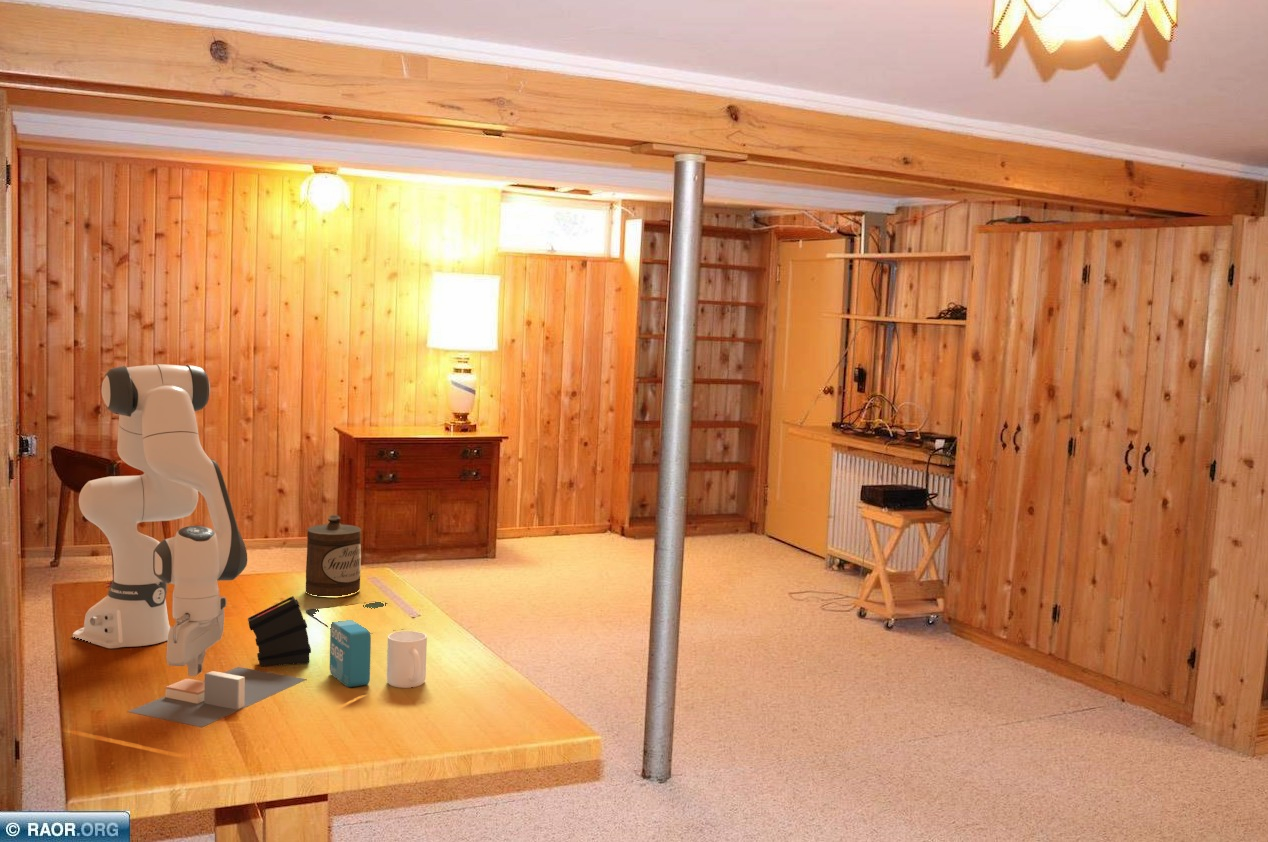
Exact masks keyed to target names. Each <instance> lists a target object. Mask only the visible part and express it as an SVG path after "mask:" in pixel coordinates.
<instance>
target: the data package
mask: <svg viewBox="0 0 1268 842" xmlns="http://www.w3.org/2000/svg"><path fill="white" fill-rule="evenodd" d="M329 630H330V633H329V634H330V637H329V638H330V639H329V673H330V674H332V675H333V678H335V679H336V678H337V679H336V680H338V681H339V682H340V683H341V684H343V685H344V686H346V688H355V687H360V686H366V685H367V686H368V685H369V684H370V680H371V654H372V653H371V652H372V651H371V650H372V649H371V648H372V646H371V645H372V636H371V633H370V632H369V631H368V630H367V629H366V628H364V627H362V626H361V625H359V624H358V623H356V622H354V621H353V620H346V621H338V622H332V624H331V628H330V629H329ZM332 675H331V676H332Z"/></svg>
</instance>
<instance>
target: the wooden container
mask: <svg viewBox="0 0 1268 842" xmlns="http://www.w3.org/2000/svg"><path fill="white" fill-rule="evenodd" d="M327 520H328V523H327V524H326V523H325V524H317V525H314V526H313V525H311V526H309V527H308V528H307V535H306V536H307V537H306V538H307V540H306V541H307V543H306V544H307V545H306V547H307V548H306V562H305V563H306V564H305V565H306V566H305V593H306V592H307V593H309V594H312V595H317V596H342V595H348V594H351V593H355V592H357V591H358V590H359V589H360V590H361V566H362V565H361V563H362V562H361V560H362V559H361V555H362V554H361V549H362V548H361V547H362V545H361V541H362V540H361V539H362V536H361V535H362V529H361V528H360V527H359V526H357V525H356V526H355V525H351V524H341V516H339V515H338V514H331V515H330V516H329V517H328V518H327ZM307 593H306V594H307Z"/></svg>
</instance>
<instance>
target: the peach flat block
mask: <svg viewBox="0 0 1268 842" xmlns="http://www.w3.org/2000/svg"><path fill="white" fill-rule="evenodd" d="M204 690H205V682H204V680H198V679H192V678H184V679H181V680H179V681H176V682H173V683H171V684H170V685H167V686H165V696H166V697H167V698H172V699H177V700H182V701H187V702H192V703H197V704H198V703H200V702H203V701H204Z"/></svg>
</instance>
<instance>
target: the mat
mask: <svg viewBox="0 0 1268 842" xmlns="http://www.w3.org/2000/svg"><path fill="white" fill-rule="evenodd" d="M223 673H226V674H232V675H237V676H242V677H245V705H244V707H242V708H240V709H237V710H236V709H231V708H226V707H221V706H216V705H211V704H206V703H204V701H203V702H200V703H198V704H197V703H192V702H187V701H182V700H177V699H172V698H167V697H166V695H164V696H162V697H159V698H157V699H155V700H153V701H150V702H148V703H145V704H143V705H140V706H138V707H135V708H133V709H129V710H128V711H127V713H131V714H136V715H142V716H146V717H150V718H155V719H161V720H165V721H170V722H175V723H180V724H184V725H190V726H193V727H199V728H203V727H205V726H208V725H210V724H212V723H215V722H217V721H219V720H221V719H223V718H225V717H228V716H230V715H232V714H234V713H236V712H238V711H241V710H243V709H245V708H247V707H250V706H252V705H254V704H256V703H258V702H260V701H262V700H265V699H267V698H269V697H271V696H275V695H276V694H278V693H280V692H283V691H284V690H288V689H289V688H292V687H293V686H296V685H299V684H300V683H303V682H304V681H307V678H302V677H298V676H297V677H296V676H291V675H285V674H280V673H276V672H275V673H274V672H270V671H269V672H268V671H265V670H264V671H262V670H258V669H252V668H246V667H242V666H237V667H234V668H233V669H230V670H227V671H225V672H223ZM203 681H204V682H205V679H204V680H203Z"/></svg>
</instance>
